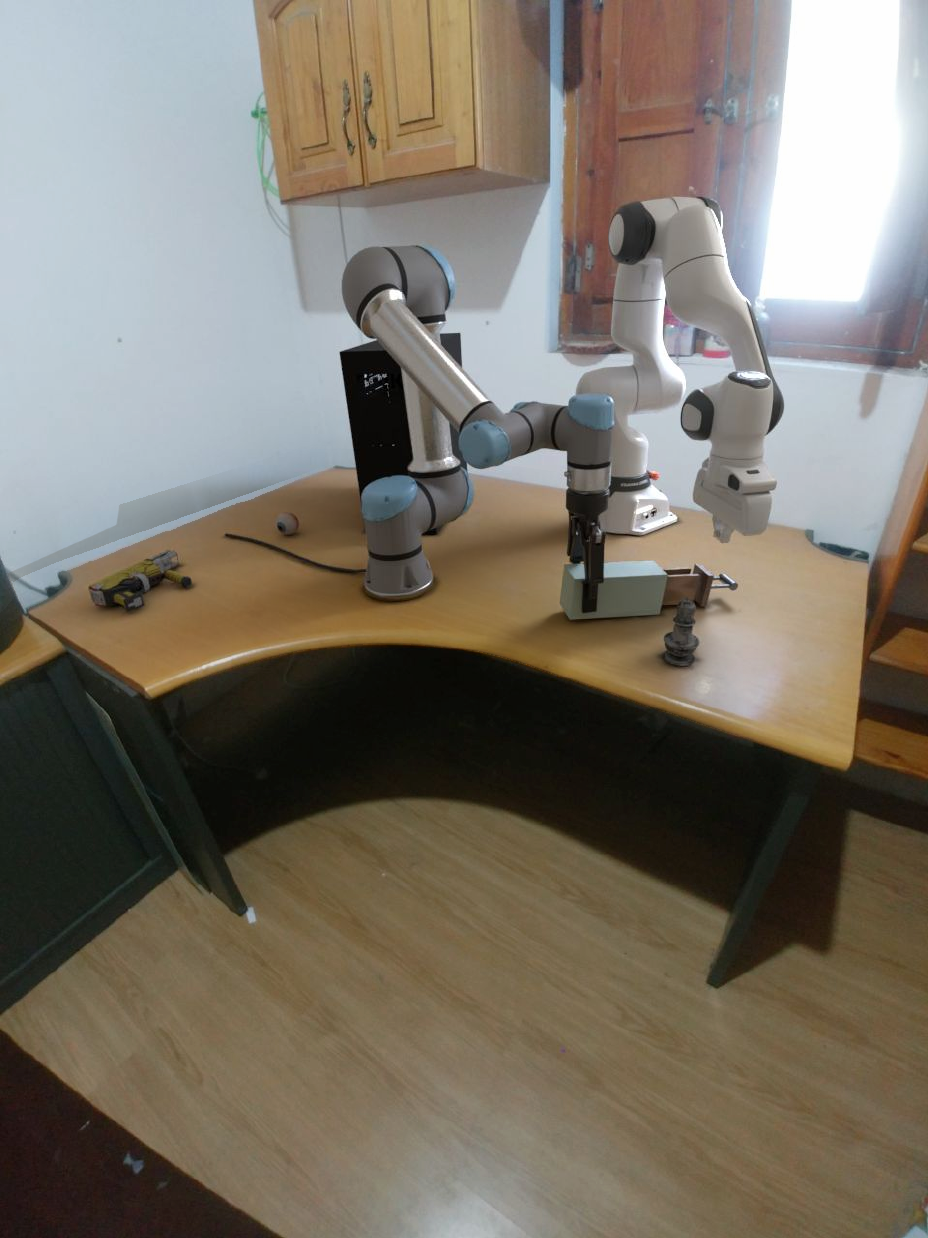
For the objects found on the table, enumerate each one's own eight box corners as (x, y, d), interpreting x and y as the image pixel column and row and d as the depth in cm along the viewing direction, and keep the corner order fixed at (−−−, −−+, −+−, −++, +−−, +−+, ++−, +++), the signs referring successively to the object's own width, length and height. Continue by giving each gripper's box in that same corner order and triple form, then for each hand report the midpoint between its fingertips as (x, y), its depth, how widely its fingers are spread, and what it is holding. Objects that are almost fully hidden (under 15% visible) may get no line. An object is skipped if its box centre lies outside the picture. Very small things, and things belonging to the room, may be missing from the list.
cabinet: (645, 598, 124) (652, 560, 119) (659, 614, 118) (668, 574, 114) (559, 603, 121) (564, 564, 117) (569, 619, 115) (574, 578, 111)
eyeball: (273, 537, 164) (268, 516, 161) (287, 528, 169) (282, 508, 166) (291, 539, 161) (286, 518, 158) (305, 530, 166) (301, 510, 163)
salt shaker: (698, 668, 101) (709, 605, 95) (662, 665, 103) (670, 603, 97) (694, 649, 106) (704, 588, 100) (659, 647, 108) (667, 587, 102)
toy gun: (215, 558, 145) (165, 547, 149) (137, 600, 125) (81, 586, 129) (218, 575, 148) (168, 564, 152) (142, 619, 128) (87, 605, 131)
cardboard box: (436, 534, 159) (422, 349, 137) (364, 531, 164) (339, 351, 141) (468, 489, 191) (460, 332, 168) (407, 487, 195) (391, 335, 173)
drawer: (720, 592, 125) (728, 562, 122) (734, 604, 120) (743, 573, 117) (613, 597, 122) (618, 567, 118) (624, 610, 117) (630, 579, 114)
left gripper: (551, 474, 114) (550, 582, 126) (585, 508, 97) (580, 630, 109) (589, 470, 115) (584, 578, 127) (629, 503, 98) (620, 624, 110)
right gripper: (689, 455, 117) (680, 522, 124) (748, 487, 100) (733, 563, 107) (720, 452, 118) (709, 519, 125) (783, 483, 100) (767, 559, 107)
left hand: (582, 602), depth 118 cm, fingers closed on cabinet, 7 cm apart
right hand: (721, 540), depth 116 cm, fingers closed
